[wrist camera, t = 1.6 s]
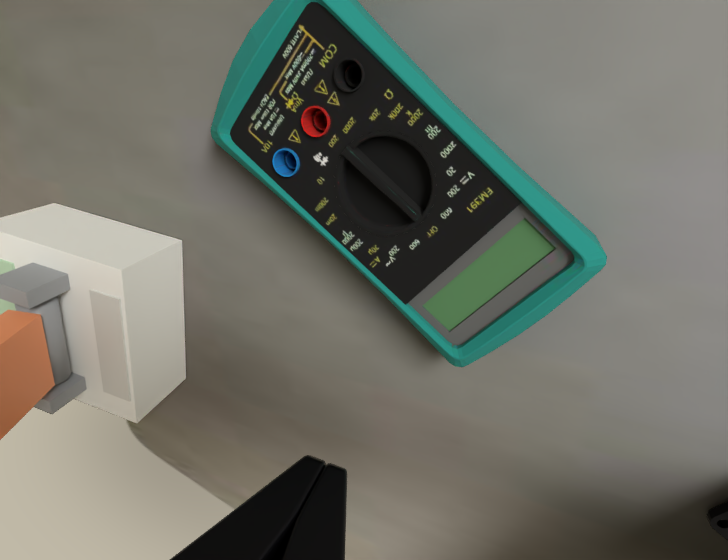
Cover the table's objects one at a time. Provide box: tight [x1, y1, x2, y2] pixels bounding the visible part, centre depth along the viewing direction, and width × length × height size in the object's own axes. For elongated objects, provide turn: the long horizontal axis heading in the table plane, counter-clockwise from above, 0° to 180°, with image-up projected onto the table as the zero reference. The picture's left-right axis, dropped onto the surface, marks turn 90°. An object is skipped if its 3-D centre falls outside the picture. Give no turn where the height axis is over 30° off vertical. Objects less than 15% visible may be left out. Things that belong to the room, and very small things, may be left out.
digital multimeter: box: [211, 0, 607, 367], centre depth 17 cm, size 7×15×3 cm, turn 50°
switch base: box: [0, 203, 186, 423], centre depth 23 cm, size 8×9×6 cm
